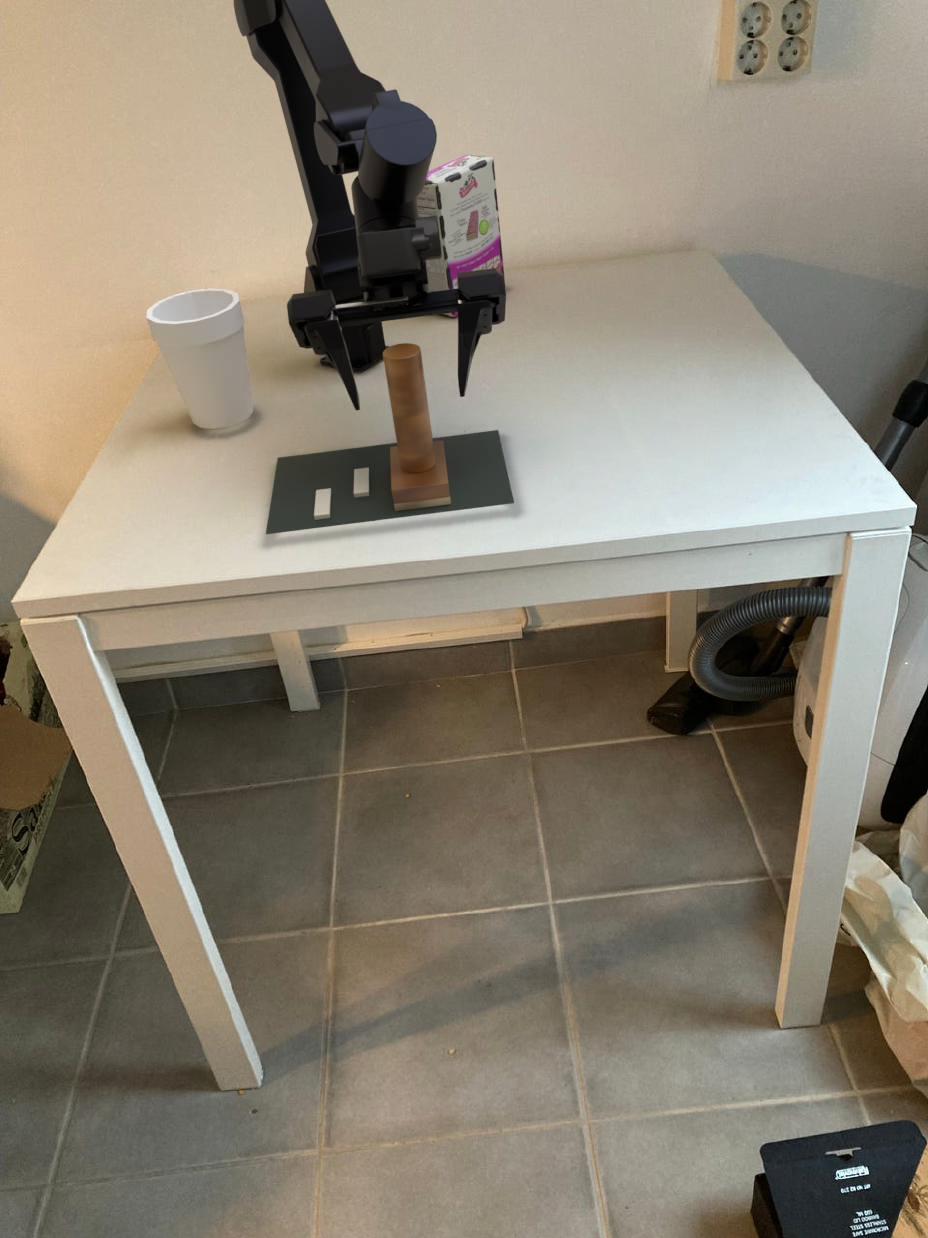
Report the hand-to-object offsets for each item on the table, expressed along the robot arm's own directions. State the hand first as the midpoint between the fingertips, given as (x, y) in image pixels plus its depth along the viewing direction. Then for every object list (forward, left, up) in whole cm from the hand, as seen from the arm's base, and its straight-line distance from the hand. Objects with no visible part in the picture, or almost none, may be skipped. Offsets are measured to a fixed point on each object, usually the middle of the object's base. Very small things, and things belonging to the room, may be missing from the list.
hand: (409, 401), depth 85 cm
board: (-3, -1, -9) cm, 10 cm away
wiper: (0, 0, -8) cm, 8 cm away
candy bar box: (-24, +42, -9) cm, 49 cm away
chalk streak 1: (-6, -7, -8) cm, 12 cm away
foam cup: (-29, +3, -9) cm, 31 cm away
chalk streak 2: (-5, -2, -8) cm, 10 cm away
